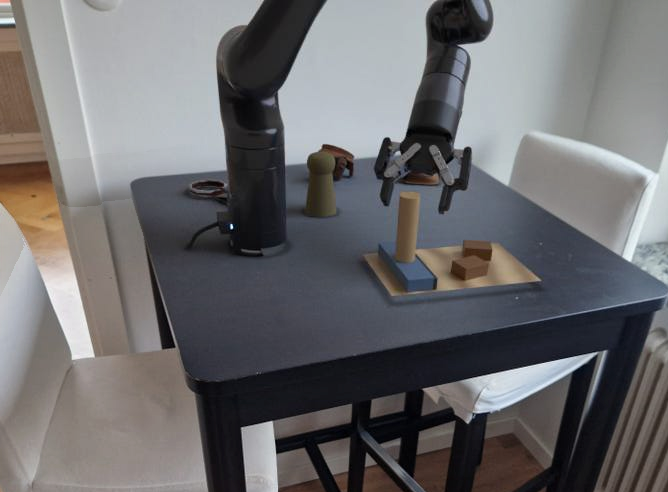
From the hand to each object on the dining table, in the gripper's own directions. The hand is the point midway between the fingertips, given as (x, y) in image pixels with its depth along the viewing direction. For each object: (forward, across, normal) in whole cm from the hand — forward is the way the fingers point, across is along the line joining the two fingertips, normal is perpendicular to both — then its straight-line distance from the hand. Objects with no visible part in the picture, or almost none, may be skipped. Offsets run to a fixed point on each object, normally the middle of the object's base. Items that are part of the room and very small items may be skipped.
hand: (412, 208), depth 101 cm
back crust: (+1, +10, +12) cm, 15 cm away
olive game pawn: (-7, -22, +22) cm, 32 cm away
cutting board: (+6, +6, +9) cm, 12 cm away
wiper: (+8, 0, +5) cm, 10 cm away
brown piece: (-20, -26, +36) cm, 49 cm away
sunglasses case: (-30, -10, +45) cm, 55 cm away
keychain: (-6, -41, +22) cm, 47 cm away
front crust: (+6, +10, +7) cm, 13 cm away
